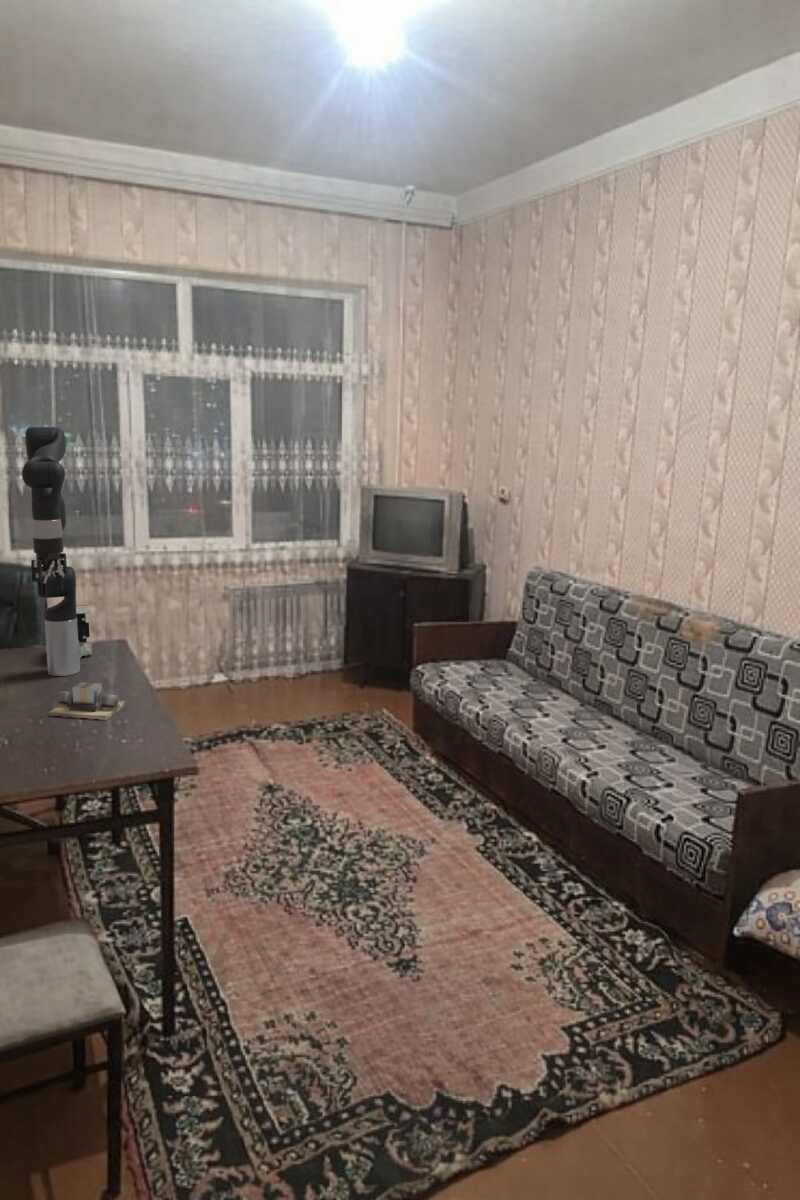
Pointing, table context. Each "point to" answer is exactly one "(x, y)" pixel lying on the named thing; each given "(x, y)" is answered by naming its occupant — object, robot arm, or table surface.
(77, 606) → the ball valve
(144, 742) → the table surface
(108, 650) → the table surface
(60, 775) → the table surface
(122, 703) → the beige flat board
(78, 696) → the block
